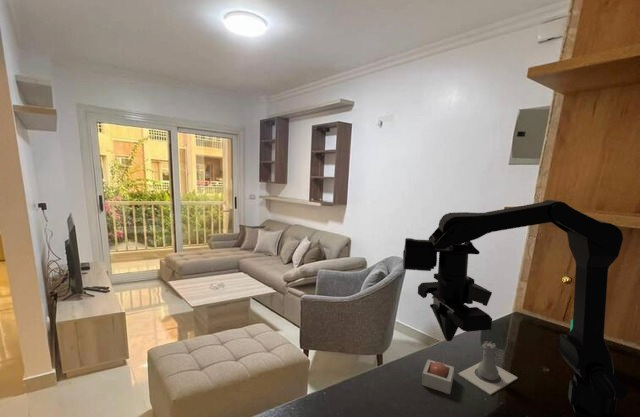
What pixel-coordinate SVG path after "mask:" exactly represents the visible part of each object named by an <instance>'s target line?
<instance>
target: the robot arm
mask: <svg viewBox="0 0 640 417" xmlns="http://www.w3.org/2000/svg"><path fill="white" fill-rule="evenodd" d="M549 223H552V224H553V225H554V226H555V227H557V228H558V229H560V230H561V231H563V232H565V233H566V235H567V240H568V241H567V242H568V247H569V249H570V250H569V251H570V252H571V254H572V256H573V259H574V261H575V273H574V274H575V278H574V296H573V315H572V316H573V317H572V319H573V328H572V330H571V331H570V330H569V332H568V333H567V334H563V333H560V334H559V347H558V348H557V351H558V352H560V354H561V357H562V359H563V360H564V361H565V362H566V363H567V364H568V365H569V367H570V369H571V370H572V371H573V372H574V374H573V379H569V386H568V394H567V397H568V400H569V405H570V406H572V408H573V411H574V414H575V415H578V416H581V417H616V411H617V403H618V402H617V401H618V399H625V398H626V396H627V394H628V393H629V388H627V387H626V385H624V383H623V382H621V381H620V379H618V378H617V377H616V376H615V375H614V374H615V369H614V368H615V367H614V362H613V356H612V354H611V352H610V349H609V346H608V344H607V343H606V339H605V327H606V325H605V324H606V314H607V313H606V312H607V311H606V310H607V295H608V283H609V282H608V280H609V269H610V266H611V265H612V264H613V263H614V262H615V261H616V259H618V257H619V255H620V252H621V249H622V245H623V242H624V234H623V231H622V230H621V229H620V228H619V227H618V226H617V225H615V224H613V223H612V222H606V221H601V220H598V219H595V218H593V217H592V216H589V215H587V214H586V213H585V214H584V213H583V212H581V211H579V210H577V209H575V208H573V207H572V206H570V205H569V204H567V203H566V202H563V201H560V200H559V201H558V200H554V199H546V200H544V201H541V202H536V203H531V204H524V205H519V206H513V207H508V208H502V209H497V210H491V211H486V212H470V211H469V212H467V211H465V212H462V211H461V212H459V211H458V212H448V213H445V214H444V215H442V216H441V218H439V223H438V227H437V228H436V229H435V230H434V231H433V233H431V235H430V236H429V237H428V239H414V238H410V237H409V238H408V237H407V238H405V239H404V248H403V249H404V250H403V252H402V267H403V269H402V270H408V271H421V272H422V271H423V272H431V271H432V270H435V267H437V266H438V268H437V273H433V279H434V280H436V281H427V282H421V283H420V284H419V285H418V286H417V295H419V296H420V297H421V298H422V299H425V298H427V297H428V294H431V295H432V297H431V298H432V302H433V303H430V304H429V307H430V308H431V310H432V312H433V315H434V317H435V318H436V322H437V323H438V325H439V328H440V330H441V332H442V335H443V337H444V340H445V341H446V342H452V341H453V339H454V338H455V335H456V333H457V331H458V329H460V330H461V331H464V332H467V333H468V332H469V333H470V332H477V331H478V332H479V331H489V330H492V328H493V327H492V326H493V318H492V317H491V316H490V315H489V313H487V312H485V311H484V310H482V309H481V308H480V307H478V306H472V307H470V306H468V305H473V303H474V302H475V303H477V304H478V303H479V304H481V305H482V306H485V307H487V306H488V305H489V301H490V299H491V296H492V293H493V292H492V291H490V290H488V289H487V288H485V287H483V286H480V285H479V284H477V283H475V279H474V278H473V277H470V276H468V264H469V263H468V262H469V255H479V254H480V250H478V249H477V248H476V247H475V246H474V244H473V242H472V241H475V240H477V239H480V238H481V237H483V236H485V235H488V234H491V233H494V232H500V231H505V230H512V229H517V228H524V227H530V226H537V225H543V224H549ZM437 263H438V265H437Z"/></svg>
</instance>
